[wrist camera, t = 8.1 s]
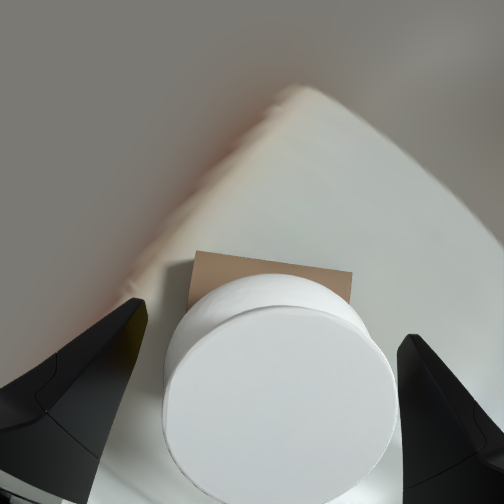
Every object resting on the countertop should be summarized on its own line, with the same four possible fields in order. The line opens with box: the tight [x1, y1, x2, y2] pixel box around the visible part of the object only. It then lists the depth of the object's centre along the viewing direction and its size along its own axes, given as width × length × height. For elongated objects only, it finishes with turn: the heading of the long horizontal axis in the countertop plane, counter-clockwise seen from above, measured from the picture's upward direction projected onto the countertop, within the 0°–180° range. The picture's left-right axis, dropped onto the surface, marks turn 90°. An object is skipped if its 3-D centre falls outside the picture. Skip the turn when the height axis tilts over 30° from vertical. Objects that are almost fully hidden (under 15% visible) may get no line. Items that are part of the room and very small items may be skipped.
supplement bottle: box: [162, 274, 398, 504], centre depth 11 cm, size 7×7×13 cm
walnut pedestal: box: [186, 251, 352, 313], centre depth 18 cm, size 10×10×2 cm
